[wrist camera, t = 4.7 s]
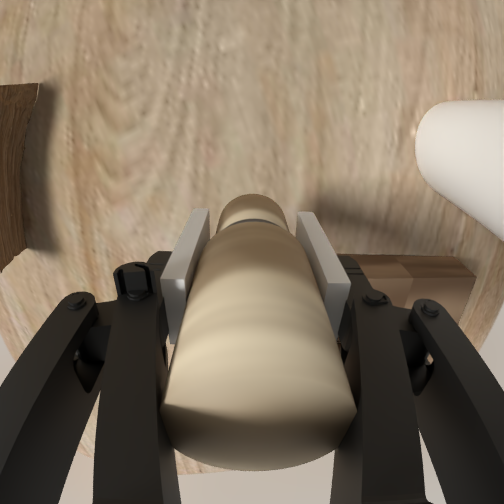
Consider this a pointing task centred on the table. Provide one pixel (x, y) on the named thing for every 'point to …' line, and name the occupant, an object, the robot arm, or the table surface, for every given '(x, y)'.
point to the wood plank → (13, 165)
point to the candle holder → (466, 157)
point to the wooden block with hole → (419, 280)
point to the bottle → (255, 352)
